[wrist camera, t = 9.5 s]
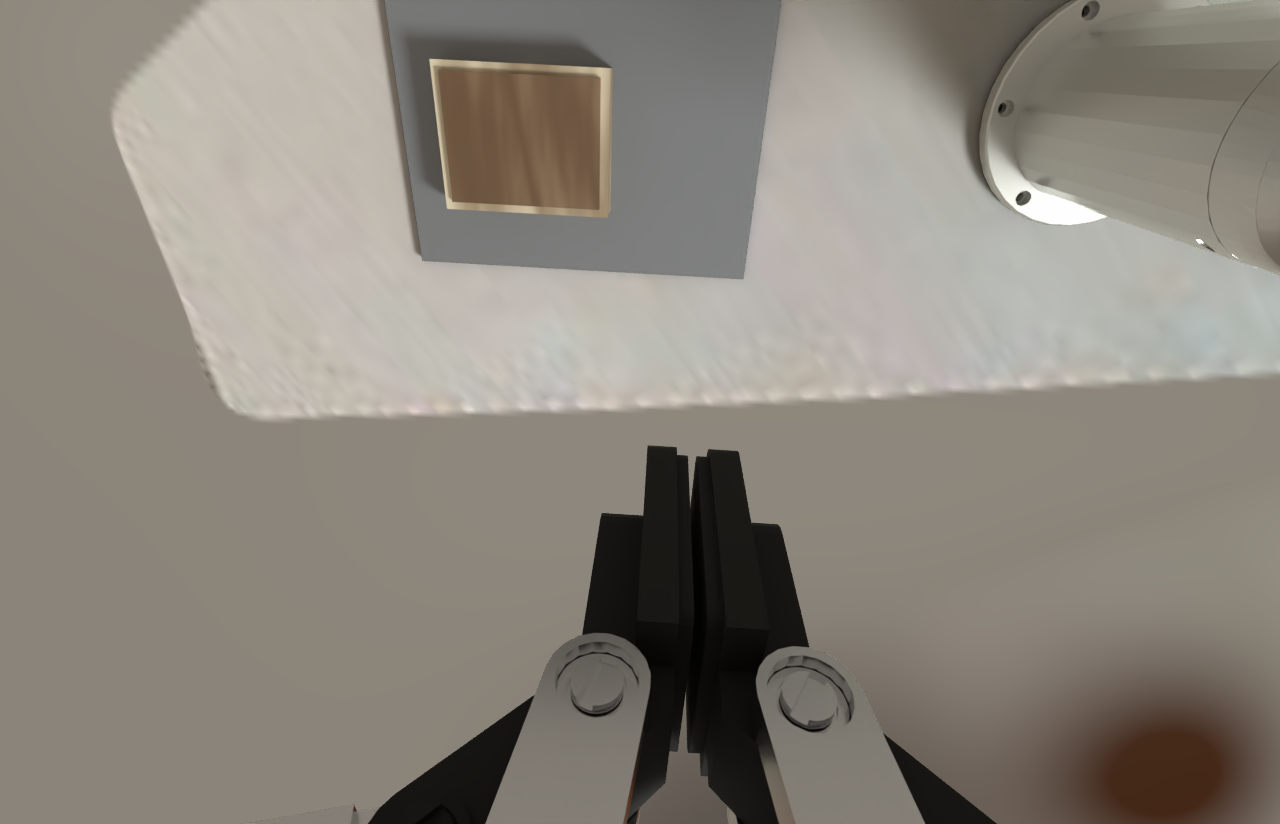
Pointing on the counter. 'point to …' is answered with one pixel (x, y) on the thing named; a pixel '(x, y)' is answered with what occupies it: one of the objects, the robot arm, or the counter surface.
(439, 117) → the birch tile
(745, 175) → the rubber mat
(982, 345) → the counter surface
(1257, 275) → the counter surface
